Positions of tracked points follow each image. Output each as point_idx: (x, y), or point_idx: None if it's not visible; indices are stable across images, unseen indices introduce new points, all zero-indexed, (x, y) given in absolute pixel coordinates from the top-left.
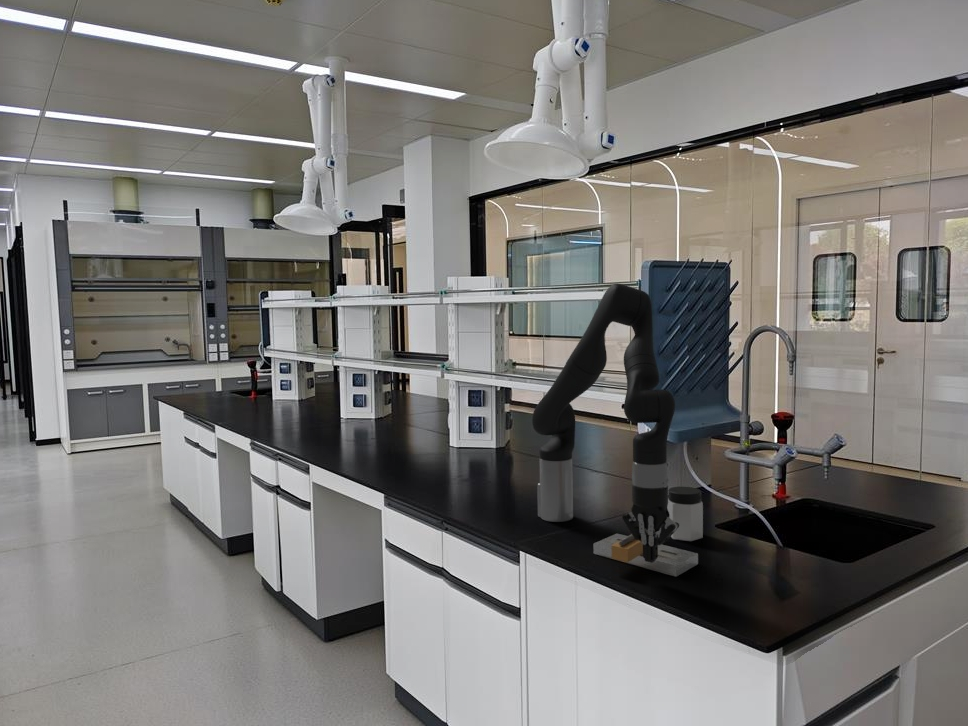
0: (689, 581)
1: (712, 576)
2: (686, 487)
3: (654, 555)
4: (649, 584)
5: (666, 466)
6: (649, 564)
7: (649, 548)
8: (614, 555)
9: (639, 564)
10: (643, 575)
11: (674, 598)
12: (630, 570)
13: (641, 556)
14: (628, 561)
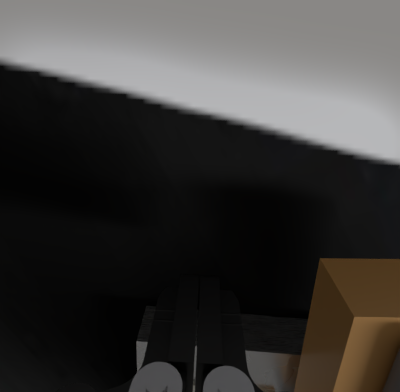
0: (91, 295)
1: (64, 356)
2: None
3: (156, 312)
4: (187, 200)
5: None
6: (255, 330)
7: (179, 343)
8: None
9: (296, 324)
10: (247, 261)
11: (30, 130)
12: (311, 275)
13: (297, 354)
14: (319, 266)
